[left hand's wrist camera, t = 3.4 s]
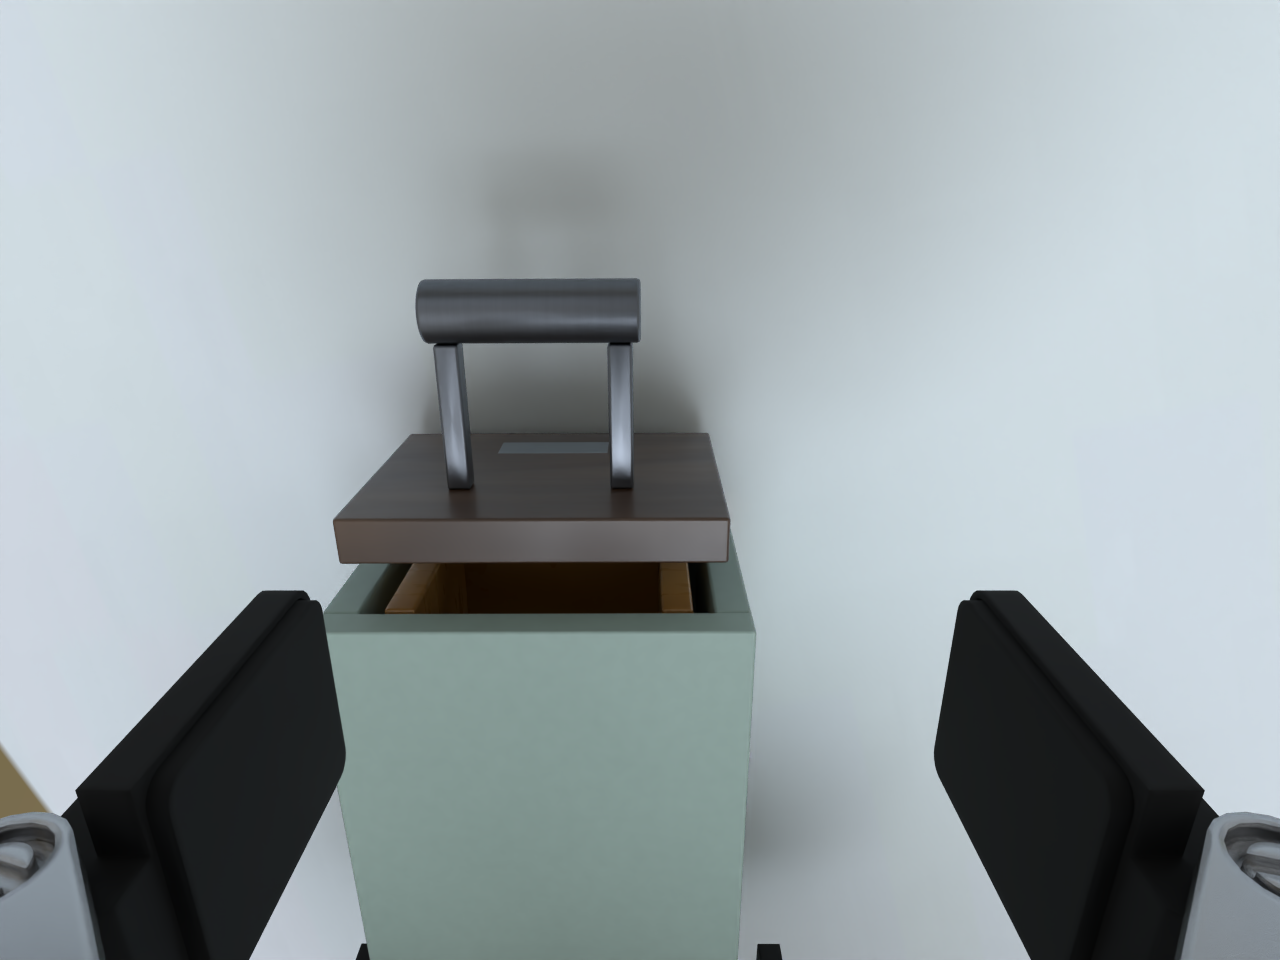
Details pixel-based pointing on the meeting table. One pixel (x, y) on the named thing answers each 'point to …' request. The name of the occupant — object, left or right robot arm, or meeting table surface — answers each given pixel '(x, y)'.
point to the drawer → (538, 477)
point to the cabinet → (546, 774)
